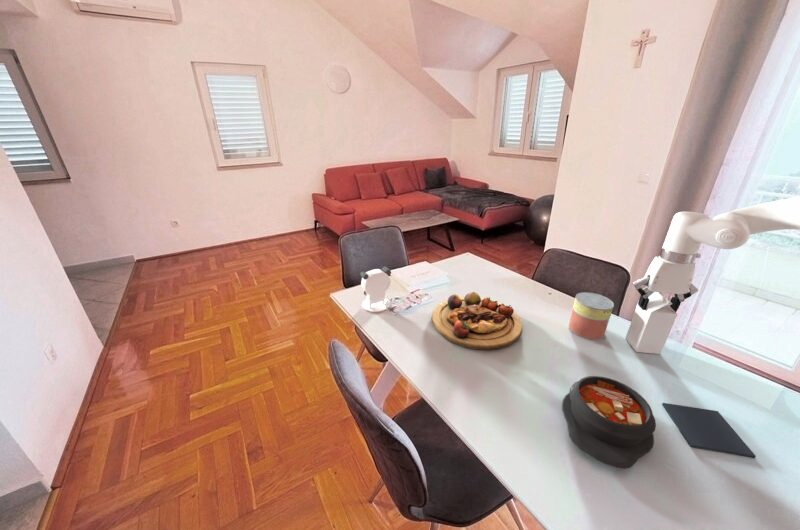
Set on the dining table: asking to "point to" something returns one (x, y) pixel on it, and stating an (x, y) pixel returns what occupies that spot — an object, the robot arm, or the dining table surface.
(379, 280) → the panda figurine
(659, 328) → the milk carton
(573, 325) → the canned food
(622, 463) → the casserole
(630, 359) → the dining table surface
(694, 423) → the mat
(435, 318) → the wooden plate
